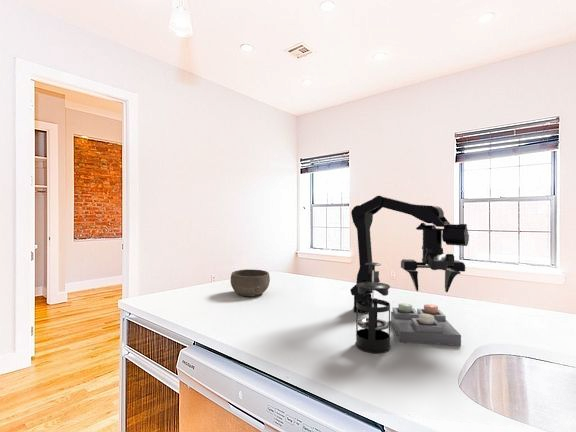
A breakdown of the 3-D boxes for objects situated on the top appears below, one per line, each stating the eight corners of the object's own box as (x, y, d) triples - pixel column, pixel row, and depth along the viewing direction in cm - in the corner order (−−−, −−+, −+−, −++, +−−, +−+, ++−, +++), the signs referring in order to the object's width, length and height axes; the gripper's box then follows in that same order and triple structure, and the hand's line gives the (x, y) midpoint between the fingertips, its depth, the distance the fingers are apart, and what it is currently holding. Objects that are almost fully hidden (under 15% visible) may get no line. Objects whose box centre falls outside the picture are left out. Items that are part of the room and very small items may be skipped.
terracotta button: (425, 313, 104) (425, 307, 104) (422, 309, 108) (422, 304, 108) (439, 313, 103) (439, 308, 103) (435, 310, 107) (435, 304, 107)
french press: (390, 356, 83) (390, 266, 83) (353, 351, 86) (353, 264, 86) (390, 339, 94) (391, 260, 94) (357, 335, 97) (358, 259, 97)
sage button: (399, 311, 105) (399, 306, 105) (397, 308, 110) (397, 302, 110) (413, 312, 105) (413, 306, 105) (410, 308, 109) (410, 303, 109)
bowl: (268, 299, 139) (268, 275, 139) (226, 299, 139) (226, 275, 139) (270, 289, 156) (270, 269, 156) (234, 289, 156) (234, 268, 156)
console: (400, 341, 93) (400, 326, 93) (391, 320, 111) (391, 307, 111) (460, 345, 90) (460, 329, 90) (440, 323, 109) (440, 309, 109)
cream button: (420, 323, 94) (420, 317, 94) (417, 319, 98) (417, 313, 98) (435, 324, 93) (435, 318, 93) (432, 320, 97) (432, 314, 97)
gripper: (408, 245, 99) (408, 296, 100) (473, 247, 97) (472, 299, 97) (400, 242, 111) (400, 288, 111) (458, 243, 108) (458, 290, 108)
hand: (431, 291), depth 106 cm, fingers open, 9 cm apart
